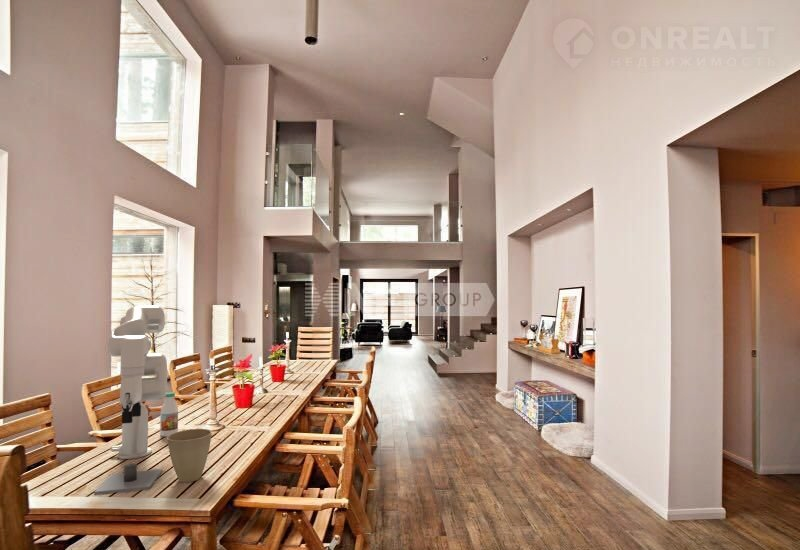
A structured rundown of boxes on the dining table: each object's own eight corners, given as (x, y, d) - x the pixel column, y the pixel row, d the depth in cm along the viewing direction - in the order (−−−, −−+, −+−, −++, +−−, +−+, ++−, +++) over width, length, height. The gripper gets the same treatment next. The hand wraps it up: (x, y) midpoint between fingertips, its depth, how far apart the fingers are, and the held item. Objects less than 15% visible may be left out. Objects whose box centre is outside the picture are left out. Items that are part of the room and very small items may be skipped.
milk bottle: (156, 436, 224) (156, 393, 225) (169, 431, 231) (170, 390, 232) (168, 437, 221) (168, 395, 222) (181, 433, 228) (181, 391, 229)
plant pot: (190, 469, 180) (190, 427, 180) (220, 474, 174) (220, 430, 175) (156, 483, 166) (157, 437, 167) (188, 489, 160) (188, 442, 161)
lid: (94, 496, 157) (94, 476, 157) (112, 477, 173) (112, 459, 174) (149, 490, 161) (149, 471, 161) (162, 473, 177) (162, 455, 178)
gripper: (128, 368, 177) (127, 414, 176) (112, 375, 160) (111, 426, 159) (150, 367, 178) (149, 413, 177) (136, 374, 162) (135, 425, 161)
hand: (131, 419), depth 168 cm, fingers open, 9 cm apart
